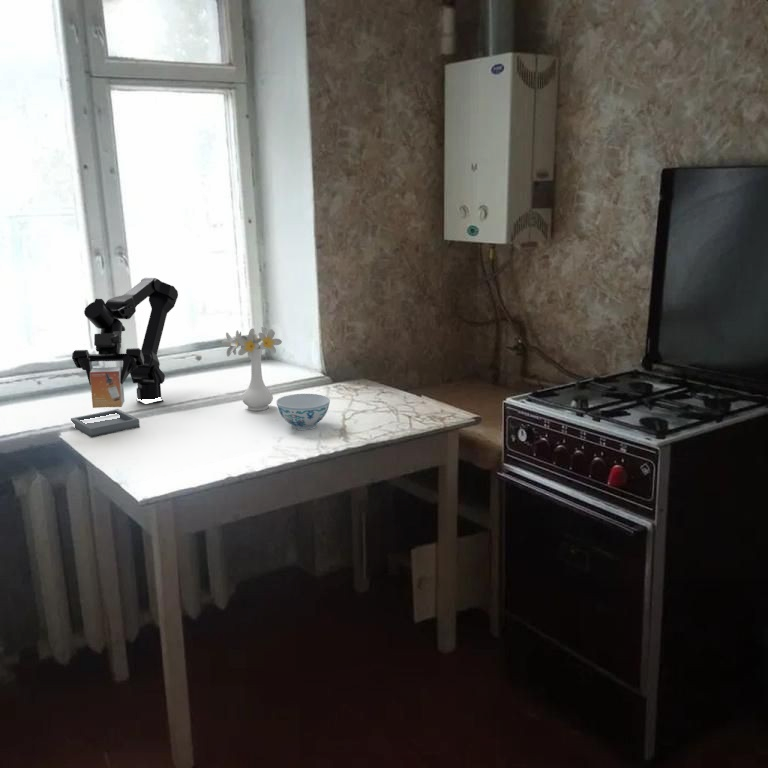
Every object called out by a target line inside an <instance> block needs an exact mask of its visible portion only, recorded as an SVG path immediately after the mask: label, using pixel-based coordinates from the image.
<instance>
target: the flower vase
mask: <svg viewBox="0 0 768 768" xmlns="http://www.w3.org/2000/svg"><path fill="white" fill-rule="evenodd" d="M260 329H261V332H258V333H256V331H255V328H253V327H252V328H251V329H249V332H248V334H245V335H242V331H240V332H239V330H236V331H235V338H232V336H231V335H230V334H229V332H225V338H226V339H227V340H226V339H223V340H222V341H221V344H222V346H224V347H226V348H227V349H226V356H227V357H230V356H231V355H232V353H233V355H234V356H236V355H237V354H238V356H243V355H245V354H247V356H248V358H249V360H250V367H251V368H250V372H251V373H250V374H251V377H250V383H249V385H248V387H247V389H246V390H245V391H244V392H243V393H242V397H241V398H242V403H243V404H245V405H246V406H247V410H249V411H253V412H261V411H267V409H268V408H269V405H270V404H271V403H272V402H273V399H274V396H273V393H272V392H271V390H270V388H268V387H267V386H266V384H265V382H264V380H263V373H262V353H263V350H266V349H268V350H269V352H271V354H276V353H277V349H276V347H275V346H279V345H281V344H282V342H283V341H282V339H280V338H274V337H275V334H276V332H275V331H274V330H273V329H272V328H271V329H269V330H268V332H267V330H266V328H264V326H261V328H260ZM260 342H261V343H260ZM259 343H260V344H259ZM238 348H240V349H238ZM237 349H238V352H237Z"/></svg>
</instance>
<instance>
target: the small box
mask: <svg viewBox="0 0 768 768" xmlns="http://www.w3.org/2000/svg"><path fill="white" fill-rule="evenodd" d="M122 367H123V366H113V367H112V366H111V367H109V366H108V367H93V369H92V370H91V371H90V382H91V385H90V392H91V402H92V408H93V409H97V408H98V409H100V408H122V407H123V405H124V403H125V391H124V383H123V384H121V383H120V379H121V372H122Z"/></svg>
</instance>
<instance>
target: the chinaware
mask: <svg viewBox="0 0 768 768" xmlns="http://www.w3.org/2000/svg"><path fill="white" fill-rule="evenodd" d="M330 401H331V400H330V398H329V397H328V396H326V395H323V394H318V393H296V394H288V395H285V396H282V397H279V398H278V399H277V400H276V406H277V409H278V413H279V414H280V415H281V417H282V419H283V420H285V422H286V423H288V424H290V425H291V427H292V429H294V430H297V429H298V430H299V431H309V430H313V429H315V428H316V427H317V426H316V425H317V424H318V423H320V421H322V420H323V418H324V417H325V416H326V414H327V412H328V410H329V406H330ZM312 428H313V429H312ZM308 429H309V430H308Z"/></svg>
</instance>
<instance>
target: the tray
mask: <svg viewBox="0 0 768 768" xmlns="http://www.w3.org/2000/svg"><path fill="white" fill-rule="evenodd" d="M115 413H117V414H119V415H120V418H117V419H112V420H105V421H100V422H94V423H87V424H85V423H83V422H82V421H80V420H84V419H90V418H95V417H100V416H106V415H109V414H115ZM71 421H72V422H73V423H74V424H75V428H76V430H77V431H78V432H80V433H82V434H84V435H86V436H87V437H89V438H91V439H93V438H97V437H102V436H106V435H110V434H116V433H120V432H126V431H130V430H134V429H139V428H140V427H141V426H140V419H139V418H138V417H136V416H133V415H132V414H129V413H127V412H125V411H123V410H120V409H118V408H116V409H112V410H106V411H101V412H96V413H90V414H86V415H80V416H75V417H71V418H70V422H71ZM75 428H74V429H75Z"/></svg>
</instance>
